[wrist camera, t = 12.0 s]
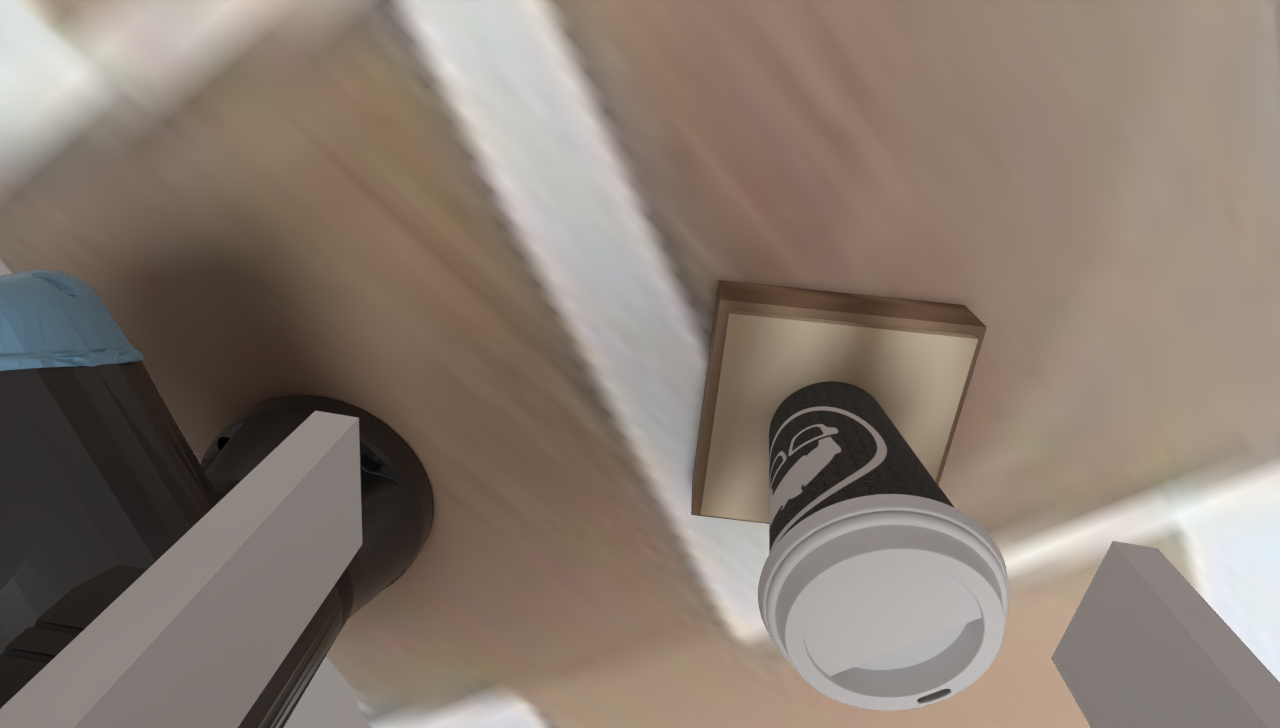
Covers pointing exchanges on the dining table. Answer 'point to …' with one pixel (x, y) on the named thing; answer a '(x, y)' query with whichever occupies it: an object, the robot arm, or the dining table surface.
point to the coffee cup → (872, 560)
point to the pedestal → (823, 378)
